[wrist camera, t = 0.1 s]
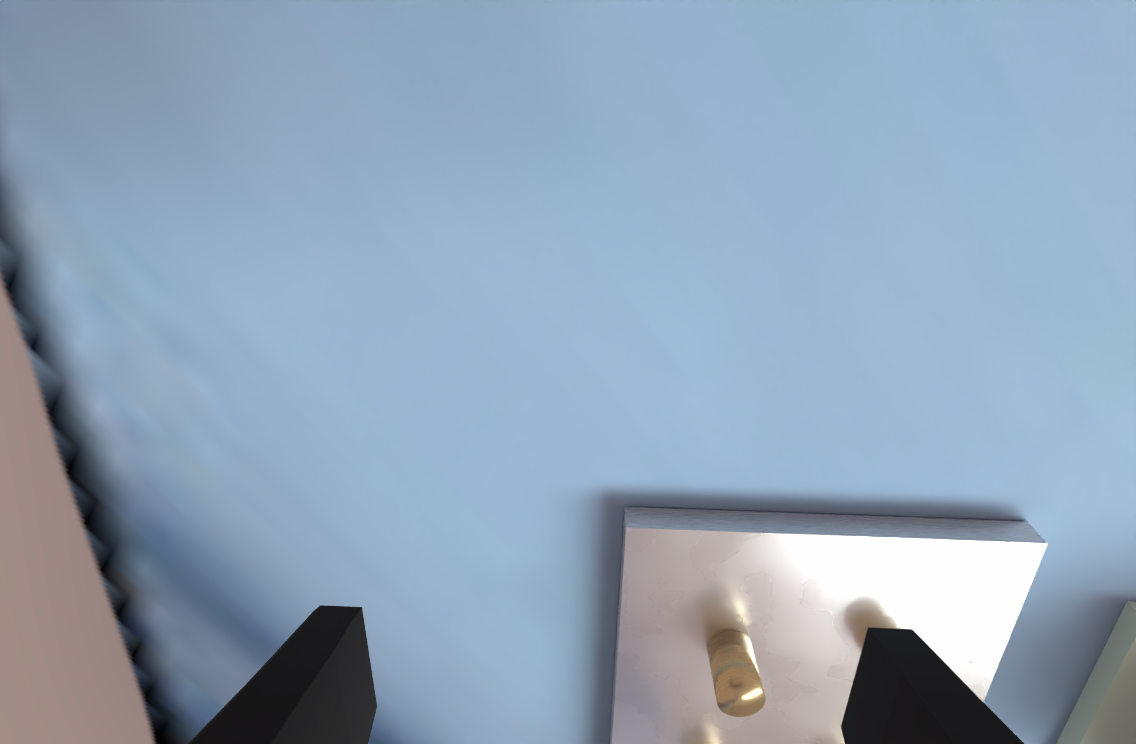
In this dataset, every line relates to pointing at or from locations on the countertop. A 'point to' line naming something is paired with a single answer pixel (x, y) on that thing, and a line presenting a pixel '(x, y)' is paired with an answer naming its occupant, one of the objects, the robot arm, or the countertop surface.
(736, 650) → the plate
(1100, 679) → the grey block on base
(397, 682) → the countertop surface
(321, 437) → the countertop surface
